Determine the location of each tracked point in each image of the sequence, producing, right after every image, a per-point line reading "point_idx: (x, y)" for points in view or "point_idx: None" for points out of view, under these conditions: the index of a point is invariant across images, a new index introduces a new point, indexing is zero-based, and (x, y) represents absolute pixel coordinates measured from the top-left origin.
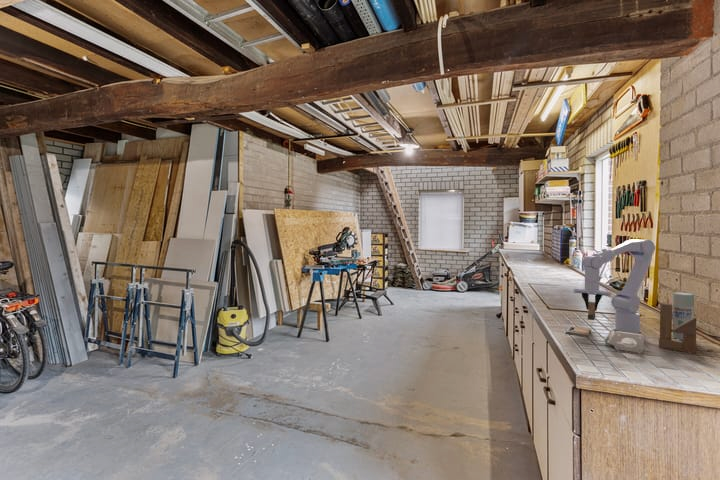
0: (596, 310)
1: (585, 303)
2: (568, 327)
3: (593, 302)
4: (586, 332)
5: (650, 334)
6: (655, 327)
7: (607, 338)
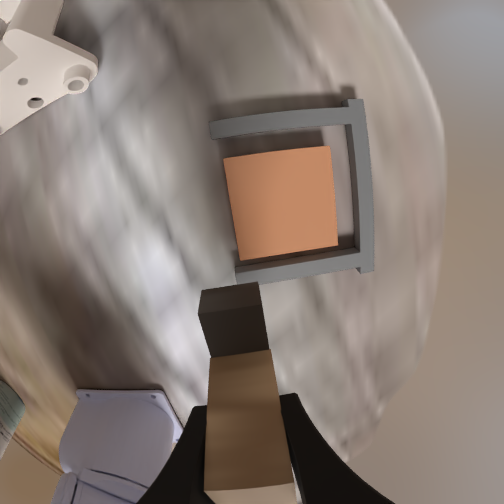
0: (192, 410)
1: (328, 447)
2: (372, 226)
3: (224, 493)
4: (240, 176)
5: (60, 401)
6: None
7: (70, 47)
